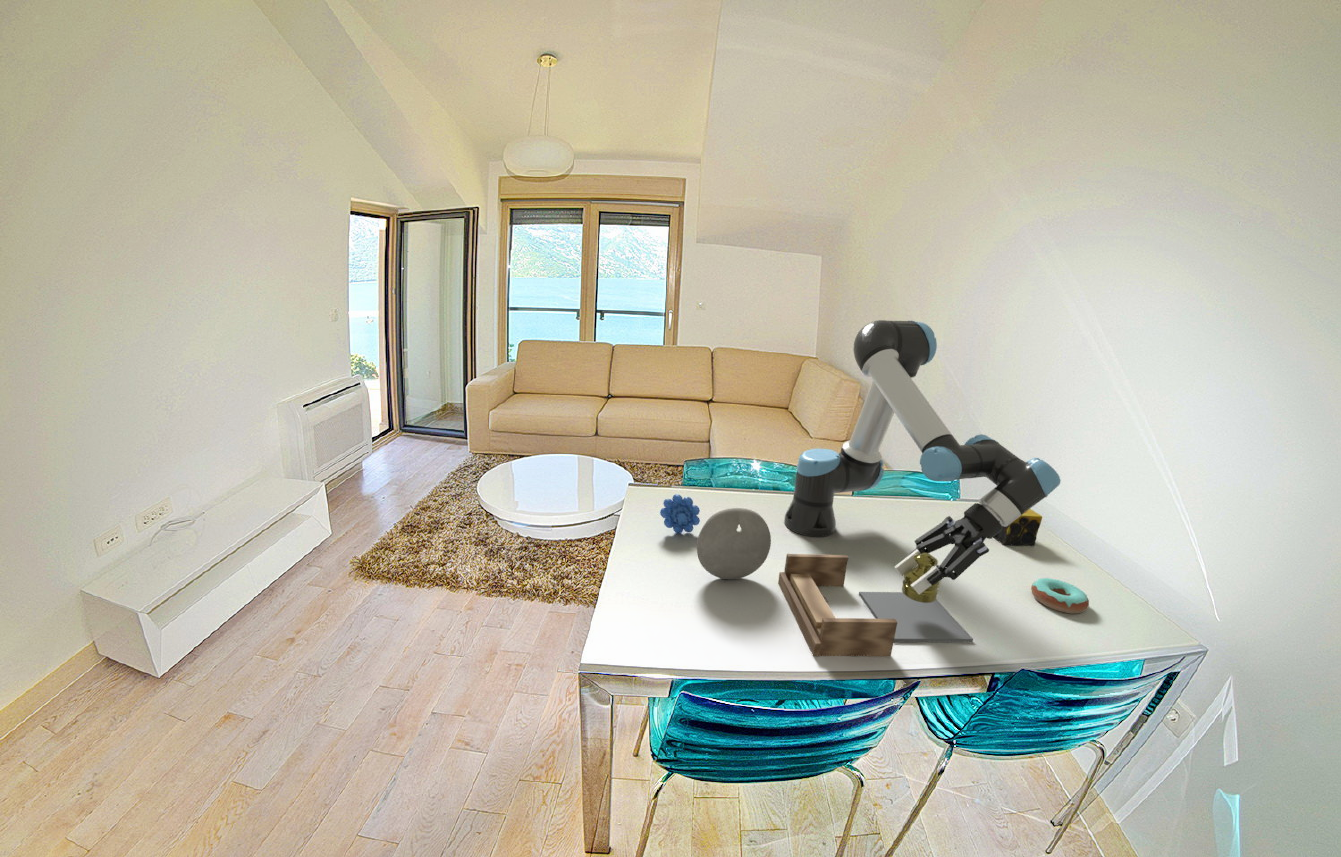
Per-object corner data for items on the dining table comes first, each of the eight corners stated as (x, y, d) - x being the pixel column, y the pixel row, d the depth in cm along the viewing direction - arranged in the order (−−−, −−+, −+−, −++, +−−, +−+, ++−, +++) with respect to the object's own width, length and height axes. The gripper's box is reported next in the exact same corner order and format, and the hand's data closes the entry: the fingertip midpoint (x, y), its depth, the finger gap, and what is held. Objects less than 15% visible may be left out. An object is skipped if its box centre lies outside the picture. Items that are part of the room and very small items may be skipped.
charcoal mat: (929, 595, 141) (930, 592, 140) (972, 642, 123) (973, 638, 123) (858, 594, 139) (859, 591, 139) (892, 641, 122) (892, 638, 122)
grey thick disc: (761, 570, 147) (769, 502, 142) (770, 584, 141) (779, 514, 136) (691, 571, 144) (696, 502, 139) (696, 587, 138) (703, 515, 132)
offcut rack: (841, 583, 143) (846, 555, 141) (890, 656, 117) (897, 622, 115) (778, 582, 142) (781, 553, 140) (813, 656, 116) (818, 621, 113)
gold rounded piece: (921, 606, 124) (929, 565, 122) (894, 589, 131) (901, 549, 128) (944, 599, 128) (952, 559, 125) (916, 583, 134) (924, 544, 131)
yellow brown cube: (982, 530, 180) (989, 501, 177) (1013, 531, 181) (1020, 502, 178) (1003, 546, 170) (1011, 515, 167) (1035, 546, 171) (1043, 516, 168)
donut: (1046, 585, 150) (1050, 571, 148) (1097, 610, 139) (1101, 595, 138) (1019, 595, 144) (1022, 580, 143) (1069, 621, 134) (1073, 606, 133)
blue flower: (661, 540, 159) (663, 500, 156) (657, 529, 166) (659, 491, 163) (701, 539, 162) (705, 500, 158) (696, 529, 168) (700, 490, 165)
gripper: (1030, 547, 116) (939, 617, 119) (972, 507, 136) (895, 568, 138) (1011, 523, 114) (919, 594, 117) (955, 486, 134) (877, 548, 137)
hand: (906, 580), depth 128 cm, fingers closed on gold rounded piece, 7 cm apart
